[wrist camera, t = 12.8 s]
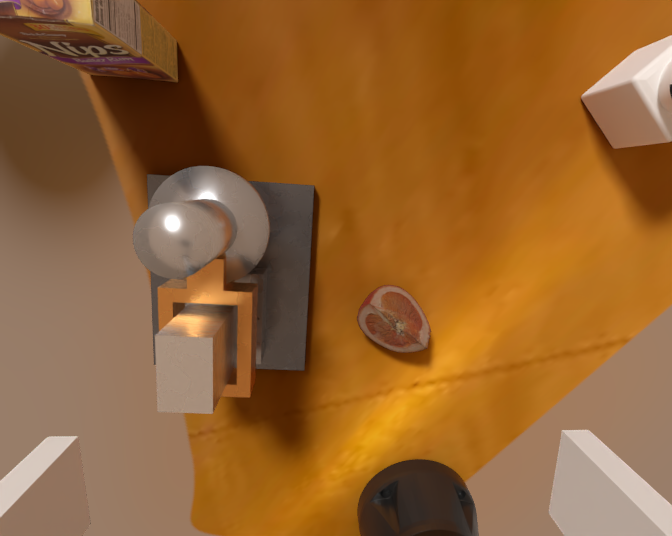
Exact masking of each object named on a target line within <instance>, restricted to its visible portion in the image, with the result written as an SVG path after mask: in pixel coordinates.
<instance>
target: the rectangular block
mask: <svg viewBox="0 0 672 536" xmlns="http://www.w3.org/2000/svg"><path fill="white" fill-rule="evenodd" d="M237 324H238V305H221V304H201V303H190V304H188V305H187V306H186V307H185V308H184V309H183V310H182V311H181V312H180V313H179V314H178V315H176V316H175V317H174V318H173V319H172V320H171V321H170V322H169V323H168V324H167V325H166V326H164V327H163V328H162V329H161V330H160V331H159V332H158V333H157V334H156V335H155V353H156V380H157V407H158V412H177V413H207V414H213V412H214V410H215V408H216V406H217V404H218V402H219V399H220V397H221V395H222V393H223V391H224V389H225V387H226V384H227V382H228V380H229V378H230V376H231V374H232V371H233V369H234V367H235V365H236V363H237Z"/></svg>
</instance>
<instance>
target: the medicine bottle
mask: <svg viewBox="0 0 672 536" xmlns="http://www.w3.org/2000/svg"><path fill="white" fill-rule="evenodd" d="M581 99H582V101H583V102H584V104H585V106H586V107H587V109H588V110H589V112H590V113H591V115H592V116H593V118H594V119H595V121H596V123H597V124H598V126H599V127H600V129H601V130H602V132H603V133H604V135H605V136H606V138H607V140H608V141H609V143H610V144H611V146H612V147H613V148H615V149H617V148H626V147H634V146H642V145H650V144H658V143H667V142H671V141H672V35H671V36H669V37H666V38H664V39H662V40H659V41H657V42H655V43H652V44H650V45H647V46H645V47H643V48H640V49H638V50H636V51H634V52H633V53H632V54H630V55H629V56H628V57H627V58H626V59H624V60H623V61H622V62H621V63H620V64H619V65H617V66H616V67H615V68H614V69H613V70H611V71H610V72H609V73H608V74H607V75H605V76H604V77H603V78H602V79H601V80H600V81H598V82H597V83H596V84H595V85H594V86H592V87H591V88H590V89H589V90H588V91H586V92H585V93H584V94H583V95H582V96H581Z"/></svg>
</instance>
